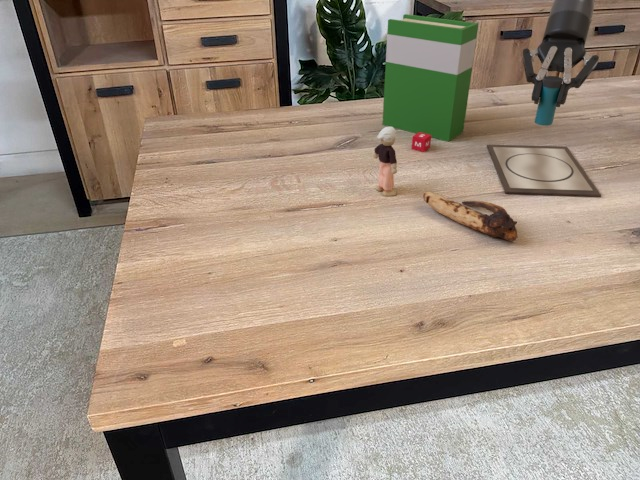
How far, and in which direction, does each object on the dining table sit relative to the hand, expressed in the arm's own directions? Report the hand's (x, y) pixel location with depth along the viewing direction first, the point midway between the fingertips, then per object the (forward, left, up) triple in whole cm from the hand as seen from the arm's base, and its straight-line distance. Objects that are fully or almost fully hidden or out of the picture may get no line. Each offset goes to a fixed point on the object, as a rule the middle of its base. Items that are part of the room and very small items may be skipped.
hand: (547, 103), depth 99 cm
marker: (-1, -2, -4) cm, 5 cm away
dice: (+21, -11, -14) cm, 28 cm away
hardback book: (+20, -23, -14) cm, 34 cm away
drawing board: (-2, -2, -14) cm, 15 cm away
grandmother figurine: (+29, +9, -14) cm, 34 cm away
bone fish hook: (+14, +19, -14) cm, 28 cm away
